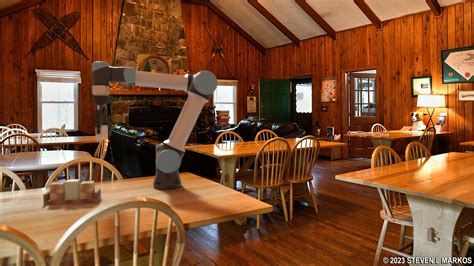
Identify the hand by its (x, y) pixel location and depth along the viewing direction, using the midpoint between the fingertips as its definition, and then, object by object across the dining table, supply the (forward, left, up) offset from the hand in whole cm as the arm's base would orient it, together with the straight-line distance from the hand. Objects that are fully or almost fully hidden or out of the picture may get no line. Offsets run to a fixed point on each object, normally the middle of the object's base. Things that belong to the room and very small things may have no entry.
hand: (102, 139), depth 169 cm
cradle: (+11, +10, -27) cm, 31 cm away
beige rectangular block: (+11, +10, -25) cm, 29 cm away
